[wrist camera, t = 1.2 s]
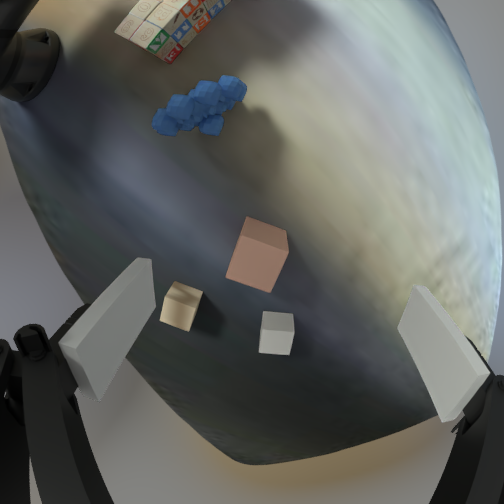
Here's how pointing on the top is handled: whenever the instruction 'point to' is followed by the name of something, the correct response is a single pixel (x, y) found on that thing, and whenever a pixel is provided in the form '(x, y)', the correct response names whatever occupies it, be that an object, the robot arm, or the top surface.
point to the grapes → (200, 107)
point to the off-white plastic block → (276, 333)
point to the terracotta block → (258, 255)
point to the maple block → (180, 306)
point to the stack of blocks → (167, 24)
